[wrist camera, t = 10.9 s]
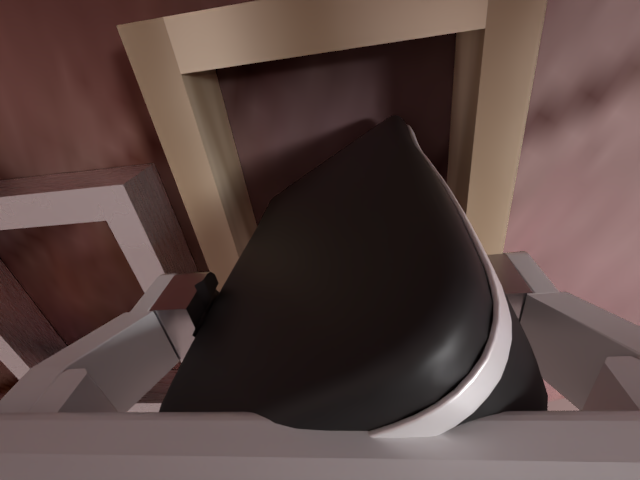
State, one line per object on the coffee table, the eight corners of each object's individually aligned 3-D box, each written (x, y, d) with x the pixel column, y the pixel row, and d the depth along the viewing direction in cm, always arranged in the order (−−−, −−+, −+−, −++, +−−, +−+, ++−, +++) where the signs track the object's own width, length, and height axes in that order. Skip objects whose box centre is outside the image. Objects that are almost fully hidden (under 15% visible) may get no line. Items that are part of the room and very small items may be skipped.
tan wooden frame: (508, -34, 11) (557, -53, 8) (468, 296, 18) (487, 340, 16) (164, 25, 12) (115, 25, 10) (253, 306, 20) (238, 347, 17)
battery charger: (316, 258, 17) (254, 569, 7) (265, 200, 15) (102, 488, 6) (448, 183, 14) (643, 518, 4) (402, 104, 13) (536, 341, 3)
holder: (154, 163, 15) (122, 184, 13) (242, 382, 24) (231, 416, 22) (-80, 189, 17) (-140, 211, 15) (78, 384, 26) (53, 416, 23)
